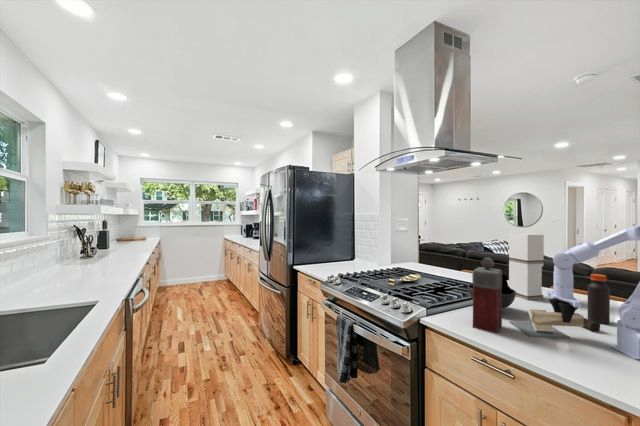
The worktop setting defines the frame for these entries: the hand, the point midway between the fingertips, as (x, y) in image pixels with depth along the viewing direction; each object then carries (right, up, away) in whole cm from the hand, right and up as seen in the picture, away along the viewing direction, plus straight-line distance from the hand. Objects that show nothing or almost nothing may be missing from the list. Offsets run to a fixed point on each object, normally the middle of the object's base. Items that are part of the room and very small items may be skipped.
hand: (563, 320), depth 107 cm
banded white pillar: (+24, -6, +52) cm, 57 cm away
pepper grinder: (-23, -6, +9) cm, 25 cm away
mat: (-5, -6, +5) cm, 10 cm away
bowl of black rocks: (-9, -6, +30) cm, 32 cm away
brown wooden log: (+16, -7, +13) cm, 21 cm away
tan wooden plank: (-2, -2, 0) cm, 3 cm away
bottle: (+28, -6, +15) cm, 32 cm away
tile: (-6, -5, +2) cm, 8 cm away
